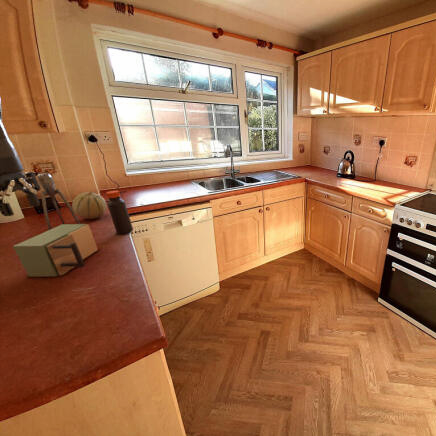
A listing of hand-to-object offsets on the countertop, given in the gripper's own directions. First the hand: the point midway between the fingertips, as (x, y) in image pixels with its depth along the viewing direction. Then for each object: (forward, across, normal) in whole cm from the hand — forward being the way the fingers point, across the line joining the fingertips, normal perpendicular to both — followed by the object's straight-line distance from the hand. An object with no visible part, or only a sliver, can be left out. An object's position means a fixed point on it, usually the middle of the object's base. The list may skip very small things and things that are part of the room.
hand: (23, 210), depth 73 cm
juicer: (+25, -38, -23) cm, 51 cm away
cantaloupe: (+25, -61, -25) cm, 70 cm away
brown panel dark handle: (+25, -6, +5) cm, 26 cm away
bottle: (+25, -38, +4) cm, 46 cm away
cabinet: (+25, -12, -5) cm, 28 cm away
